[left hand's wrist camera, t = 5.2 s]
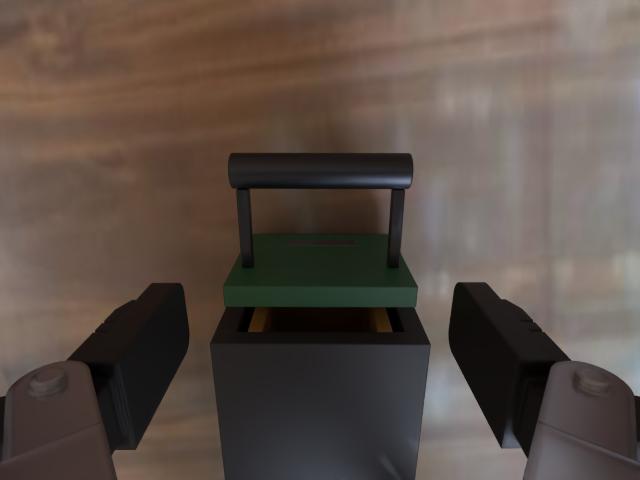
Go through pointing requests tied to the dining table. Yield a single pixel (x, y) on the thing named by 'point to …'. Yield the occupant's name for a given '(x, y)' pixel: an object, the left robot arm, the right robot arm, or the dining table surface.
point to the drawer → (320, 248)
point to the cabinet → (320, 400)
